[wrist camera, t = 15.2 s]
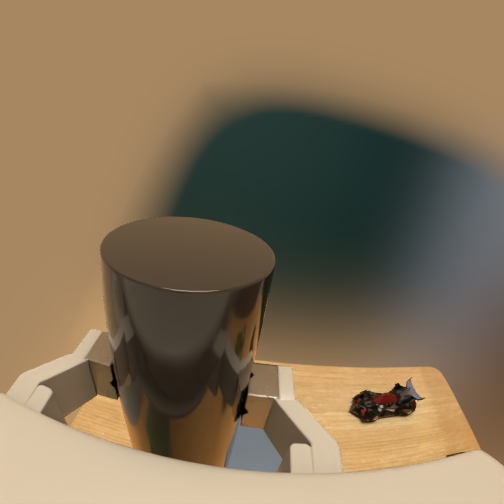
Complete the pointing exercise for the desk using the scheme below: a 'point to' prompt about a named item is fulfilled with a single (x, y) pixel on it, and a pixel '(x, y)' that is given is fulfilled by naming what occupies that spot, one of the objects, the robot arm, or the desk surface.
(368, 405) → the toy car
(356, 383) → the desk surface
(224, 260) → the glossy brown cylinder
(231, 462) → the low gray rectangular block
